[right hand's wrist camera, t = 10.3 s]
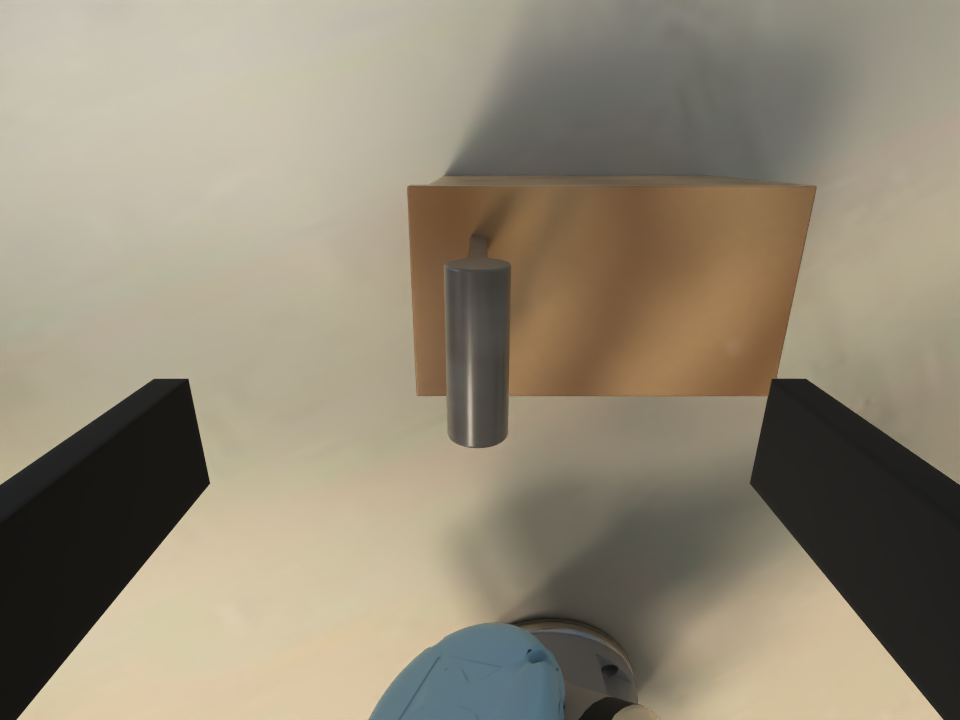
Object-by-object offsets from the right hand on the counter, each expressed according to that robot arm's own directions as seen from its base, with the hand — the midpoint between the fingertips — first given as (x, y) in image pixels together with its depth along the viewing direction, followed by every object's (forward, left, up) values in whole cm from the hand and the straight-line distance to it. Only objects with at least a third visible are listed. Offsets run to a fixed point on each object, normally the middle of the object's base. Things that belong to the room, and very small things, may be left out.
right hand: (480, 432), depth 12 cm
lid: (+3, -5, -13) cm, 14 cm away
